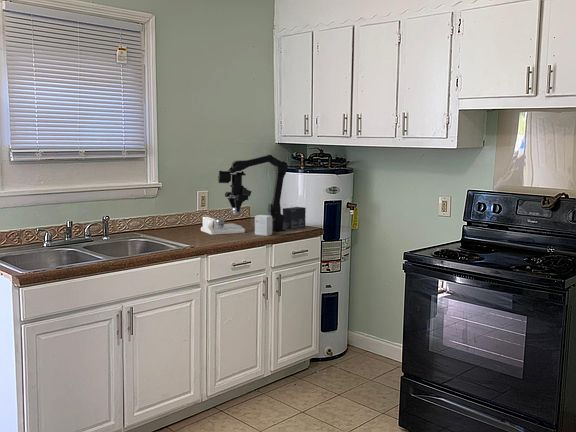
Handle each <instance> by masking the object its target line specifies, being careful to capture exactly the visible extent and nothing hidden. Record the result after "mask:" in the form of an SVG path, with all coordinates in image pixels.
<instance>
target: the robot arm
mask: <svg viewBox="0 0 576 432" xmlns="http://www.w3.org/2000/svg"><path fill="white" fill-rule="evenodd" d="M265 163H270V164H271V165H272V166H274V167H275V170H274V172H275V183H274V187H273V188H274V189H273V196H272V200H271V202H270V203H268V207H267V212H268V215H269V216H272V232H284V231H286V229H284V228H283V220H284V218H285V217H284V216H283V213H281V212H282V211H281V210H282V209H281V198H282V197H281V196H282V190H283V185H284V184H283V183H284V178H285V176H286V175H287V170H288V169H289V165H288V163H287V162H286V161H283V160H279V159H278V158H277V157H274V156H273V155H272V154H266V155H262V156H258V157H255V158H250V159H240V160H234V161H232V162H231V165H230V166H231V167H230V168H229V169H228V170H218V176H217V183H218V184H229V183H230V182H231V184H230V188H231V191H225V193H224V197H226V199H227V200H228V202H229V205H230V206H231V208H232V207H236V210H237V212H239V211H240V208H242V205H243V203H244V202H245V201H248V200H249V197H251V195H252V192H253V191H251V190H249V189H247V187H244V185H243V176H246V175H247V174H246V173H245V172H244V170H246V169H248V168H249V167H252V166H258V165H261V164H265Z"/></svg>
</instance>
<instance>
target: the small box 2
mask: <svg viewBox="0 0 576 432" xmlns="http://www.w3.org/2000/svg"><path fill="white" fill-rule="evenodd" d="M306 209H307V208H306V207H303V206H293V207H284V208H282V215H283V216H284V217H285V218H284V220H283V229H284V228H285V229H284V230H290V229H292V230H296V229H297V228H298V229H302V228H306Z"/></svg>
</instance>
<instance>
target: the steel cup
mask: <svg viewBox="0 0 576 432" xmlns="http://www.w3.org/2000/svg"><path fill="white" fill-rule="evenodd" d="M241 208H242V207H241ZM241 208H240V211H239V212H237V210H236V207H231V214H234V215H238V214H241V213H242V211H241V210H242V209H241Z"/></svg>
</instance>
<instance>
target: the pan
mask: <svg viewBox="0 0 576 432" xmlns="http://www.w3.org/2000/svg"><path fill="white" fill-rule="evenodd" d="M218 228H220V229H237V228H243V226H242V225H239V224H237V223H224V225H222V226H218Z"/></svg>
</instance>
